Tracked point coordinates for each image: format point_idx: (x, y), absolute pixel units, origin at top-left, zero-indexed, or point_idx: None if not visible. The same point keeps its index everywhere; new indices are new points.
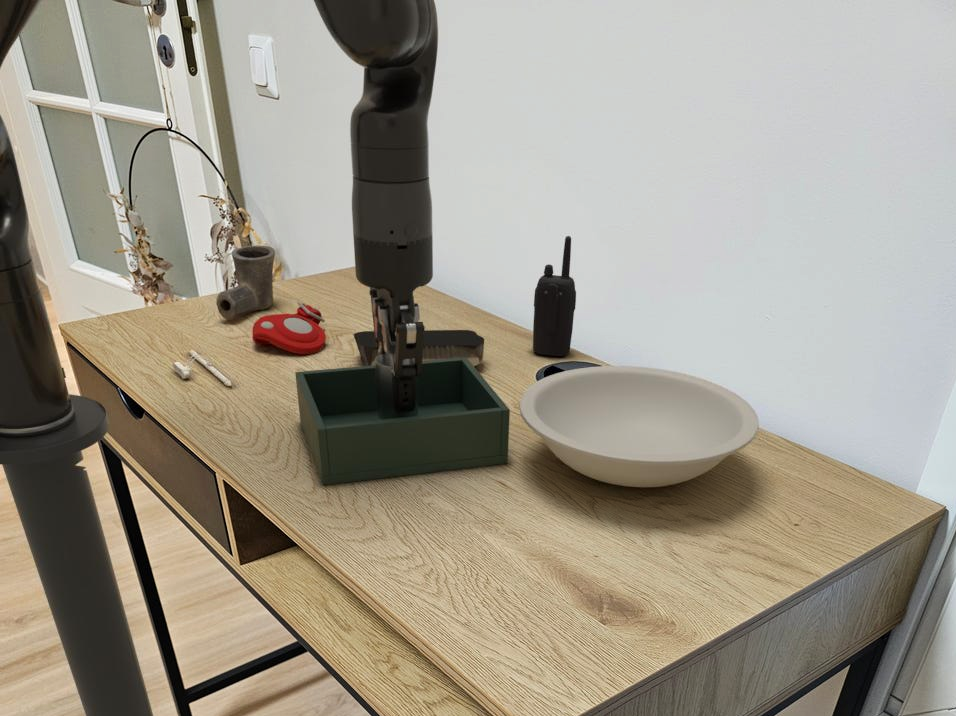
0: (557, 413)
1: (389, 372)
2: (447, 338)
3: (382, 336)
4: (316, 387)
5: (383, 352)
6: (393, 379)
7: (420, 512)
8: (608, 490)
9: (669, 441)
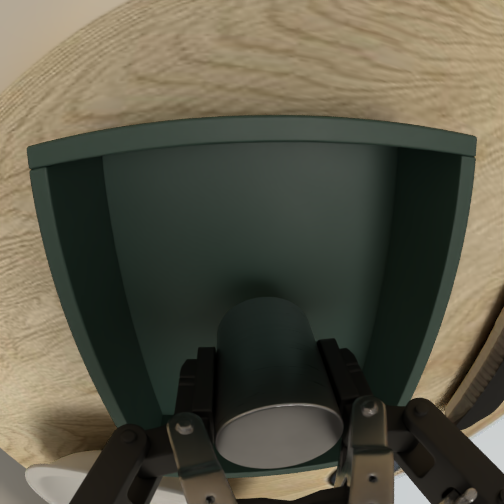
0: None
1: (222, 413)
2: (493, 395)
3: (348, 467)
4: (434, 179)
5: (350, 419)
6: (192, 408)
7: (17, 282)
8: (99, 449)
9: (175, 501)
